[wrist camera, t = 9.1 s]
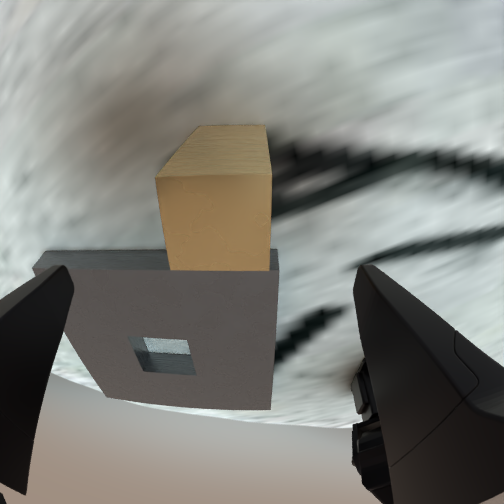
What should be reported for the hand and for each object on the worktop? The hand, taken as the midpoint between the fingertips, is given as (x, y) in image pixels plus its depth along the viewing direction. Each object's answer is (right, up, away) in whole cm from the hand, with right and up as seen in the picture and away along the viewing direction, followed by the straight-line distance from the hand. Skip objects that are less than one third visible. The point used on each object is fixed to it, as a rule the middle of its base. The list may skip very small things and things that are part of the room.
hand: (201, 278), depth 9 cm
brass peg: (0, +7, +10) cm, 12 cm away
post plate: (-7, -7, +20) cm, 22 cm away
